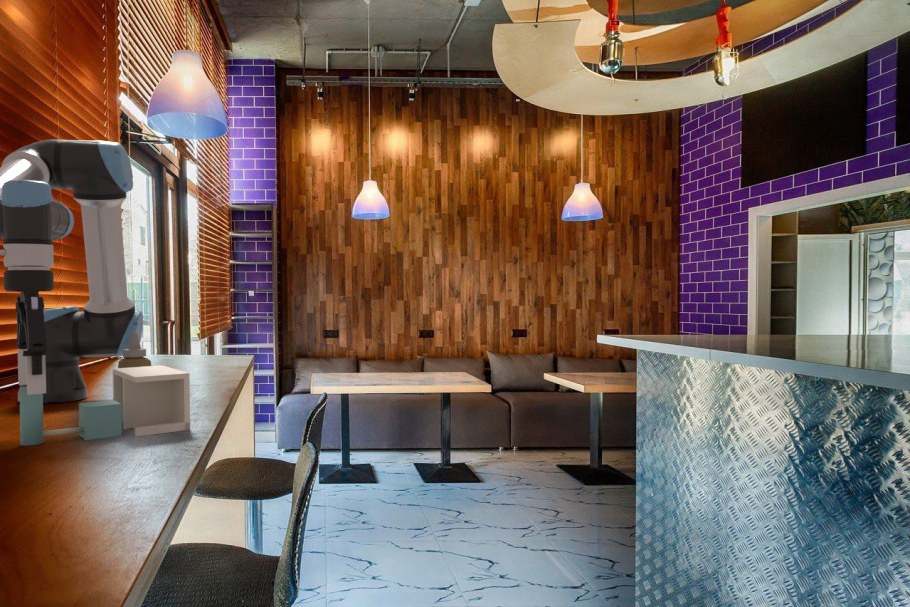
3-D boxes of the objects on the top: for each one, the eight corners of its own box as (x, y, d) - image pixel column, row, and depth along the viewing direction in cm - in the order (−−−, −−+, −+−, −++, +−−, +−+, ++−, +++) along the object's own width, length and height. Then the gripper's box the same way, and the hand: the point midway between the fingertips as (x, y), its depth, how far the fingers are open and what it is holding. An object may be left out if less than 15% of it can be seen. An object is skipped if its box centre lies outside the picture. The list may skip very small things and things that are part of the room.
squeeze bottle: (106, 416, 151) (105, 333, 150) (139, 410, 158) (137, 331, 158) (131, 418, 147) (130, 334, 147) (163, 413, 154) (162, 332, 154)
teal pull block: (18, 442, 124) (17, 386, 124) (114, 431, 134) (113, 379, 134) (22, 447, 120) (21, 389, 119) (121, 435, 129) (121, 382, 129)
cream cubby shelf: (113, 421, 144) (112, 368, 144) (162, 416, 150) (162, 365, 150) (135, 436, 129) (135, 377, 128) (190, 429, 134) (189, 373, 134)
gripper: (-3, 269, 130) (0, 382, 131) (10, 268, 110) (14, 400, 111) (43, 270, 135) (46, 378, 135) (64, 268, 115) (67, 395, 116)
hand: (31, 389), depth 123 cm, fingers open, 13 cm apart
